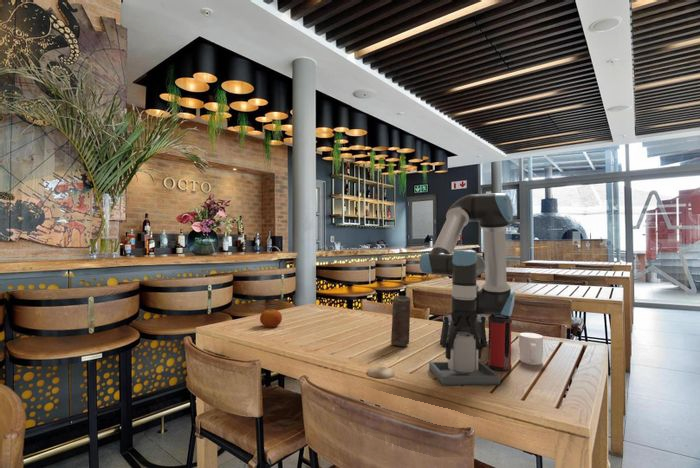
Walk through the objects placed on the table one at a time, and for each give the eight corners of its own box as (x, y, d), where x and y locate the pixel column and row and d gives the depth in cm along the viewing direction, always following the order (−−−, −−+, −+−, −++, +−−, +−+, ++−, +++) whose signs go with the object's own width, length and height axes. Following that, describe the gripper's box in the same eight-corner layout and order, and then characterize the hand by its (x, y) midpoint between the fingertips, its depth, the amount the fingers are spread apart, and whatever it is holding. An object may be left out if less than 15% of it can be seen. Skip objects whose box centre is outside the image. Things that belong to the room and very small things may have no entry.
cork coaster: (391, 368, 128) (391, 366, 128) (397, 378, 119) (397, 376, 119) (365, 368, 127) (365, 366, 127) (369, 378, 118) (369, 376, 118)
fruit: (279, 329, 178) (279, 312, 178) (257, 329, 178) (257, 312, 179) (283, 324, 189) (283, 308, 189) (263, 323, 189) (263, 307, 189)
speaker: (499, 372, 125) (500, 318, 125) (482, 365, 132) (483, 314, 132) (516, 370, 128) (517, 317, 129) (499, 362, 135) (499, 312, 136)
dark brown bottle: (411, 344, 157) (412, 296, 157) (406, 349, 150) (407, 299, 150) (394, 342, 160) (395, 295, 160) (388, 346, 153) (389, 297, 154)
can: (476, 376, 117) (477, 337, 117) (451, 374, 118) (452, 335, 118) (473, 367, 124) (474, 331, 124) (450, 366, 126) (450, 330, 126)
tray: (480, 368, 129) (480, 361, 129) (500, 385, 115) (500, 376, 115) (429, 369, 128) (429, 361, 128) (442, 385, 114) (442, 377, 114)
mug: (517, 331, 145) (540, 333, 142) (517, 355, 144) (540, 358, 142) (521, 339, 133) (546, 341, 131) (521, 365, 133) (546, 368, 131)
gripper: (489, 296, 126) (488, 364, 126) (429, 295, 124) (428, 365, 124) (500, 299, 118) (499, 372, 118) (436, 299, 117) (435, 373, 117)
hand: (463, 368), depth 121 cm, fingers closed on can, 7 cm apart
